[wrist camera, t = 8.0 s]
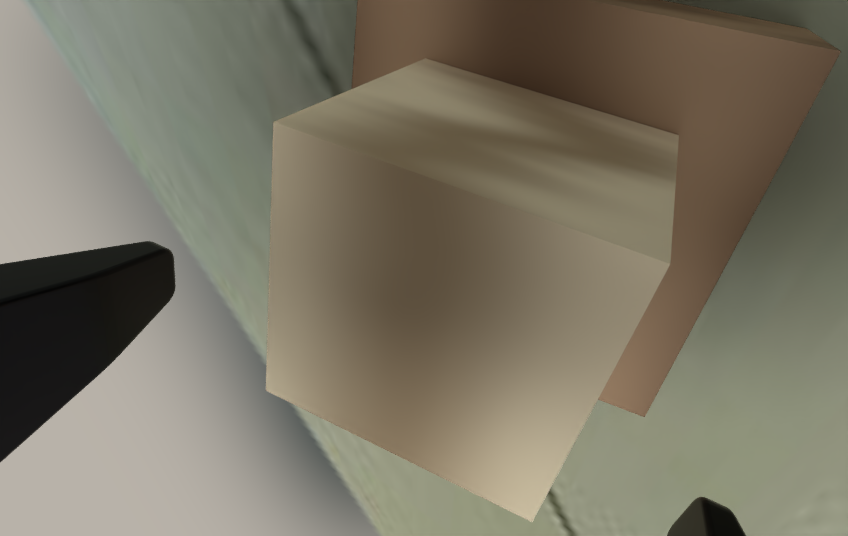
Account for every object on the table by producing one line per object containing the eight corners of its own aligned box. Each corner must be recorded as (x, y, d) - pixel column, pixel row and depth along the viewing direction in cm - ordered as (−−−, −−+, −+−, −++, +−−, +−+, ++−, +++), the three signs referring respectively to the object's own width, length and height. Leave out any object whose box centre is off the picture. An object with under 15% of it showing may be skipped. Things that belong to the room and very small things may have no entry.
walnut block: (803, 26, 13) (840, 51, 10) (651, 337, 19) (644, 417, 16) (426, -47, 16) (360, -47, 13) (389, 246, 21) (337, 299, 18)
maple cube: (678, 135, 12) (670, 264, 7) (582, 340, 15) (532, 521, 10) (425, 58, 13) (273, 121, 8) (389, 262, 16) (266, 390, 12)
